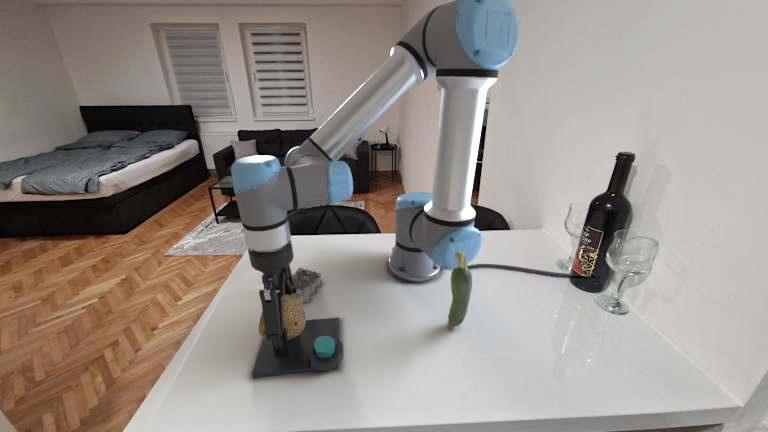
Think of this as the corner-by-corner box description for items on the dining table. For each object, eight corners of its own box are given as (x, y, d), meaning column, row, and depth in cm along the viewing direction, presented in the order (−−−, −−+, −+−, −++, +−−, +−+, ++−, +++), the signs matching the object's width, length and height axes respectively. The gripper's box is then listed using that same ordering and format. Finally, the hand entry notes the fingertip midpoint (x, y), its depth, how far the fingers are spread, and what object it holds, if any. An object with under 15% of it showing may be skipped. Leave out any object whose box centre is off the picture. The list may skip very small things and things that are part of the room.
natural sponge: (318, 332, 65) (313, 295, 61) (285, 362, 58) (277, 322, 54) (289, 316, 70) (282, 280, 66) (255, 342, 63) (246, 304, 59)
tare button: (335, 341, 62) (335, 335, 61) (335, 357, 58) (334, 351, 57) (315, 343, 61) (314, 336, 60) (313, 360, 57) (313, 353, 57)
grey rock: (304, 306, 75) (302, 293, 73) (278, 300, 77) (275, 287, 75) (324, 281, 84) (323, 269, 83) (300, 276, 86) (299, 264, 85)
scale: (343, 320, 70) (342, 310, 69) (343, 373, 58) (342, 362, 57) (268, 327, 69) (266, 317, 67) (251, 383, 56) (248, 371, 55)
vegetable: (466, 324, 69) (477, 248, 61) (464, 338, 66) (475, 259, 57) (446, 319, 71) (455, 245, 63) (444, 332, 67) (452, 255, 59)
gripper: (262, 219, 64) (278, 303, 73) (227, 281, 45) (255, 385, 54) (298, 217, 65) (310, 300, 74) (279, 277, 45) (298, 380, 55)
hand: (287, 336), depth 64 cm, fingers closed on natural sponge, 9 cm apart
